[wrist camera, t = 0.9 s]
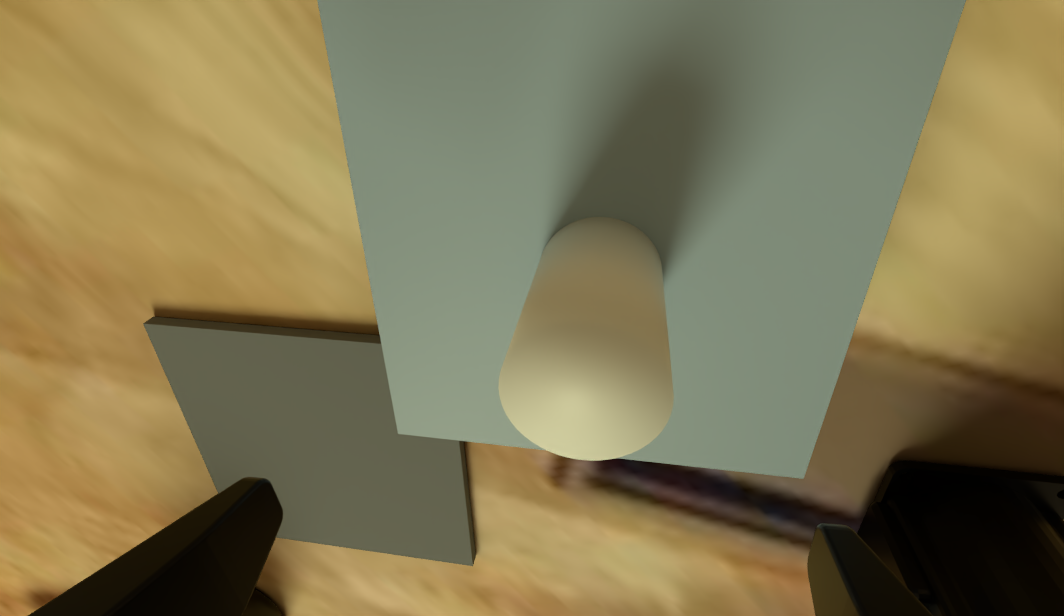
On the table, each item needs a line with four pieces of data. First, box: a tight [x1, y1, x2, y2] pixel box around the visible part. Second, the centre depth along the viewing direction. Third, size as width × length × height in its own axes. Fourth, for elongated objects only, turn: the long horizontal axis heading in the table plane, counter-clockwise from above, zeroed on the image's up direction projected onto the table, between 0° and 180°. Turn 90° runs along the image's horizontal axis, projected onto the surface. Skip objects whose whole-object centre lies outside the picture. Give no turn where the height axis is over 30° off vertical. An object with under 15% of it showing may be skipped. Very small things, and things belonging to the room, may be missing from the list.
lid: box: [318, 0, 966, 479], centre depth 12 cm, size 13×13×6 cm
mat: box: [143, 317, 476, 566], centre depth 27 cm, size 14×14×1 cm
